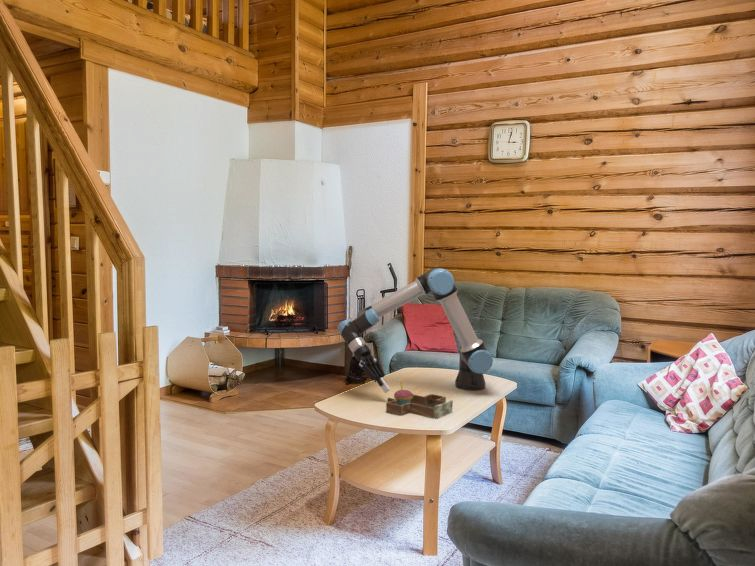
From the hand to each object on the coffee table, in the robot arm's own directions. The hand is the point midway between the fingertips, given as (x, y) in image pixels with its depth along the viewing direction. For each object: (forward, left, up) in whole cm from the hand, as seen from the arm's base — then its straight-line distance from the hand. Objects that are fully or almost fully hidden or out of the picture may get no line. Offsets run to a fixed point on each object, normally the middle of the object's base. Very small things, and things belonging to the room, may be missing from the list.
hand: (387, 391), depth 268 cm
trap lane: (0, +17, -5) cm, 18 cm away
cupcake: (0, +9, -5) cm, 10 cm away
